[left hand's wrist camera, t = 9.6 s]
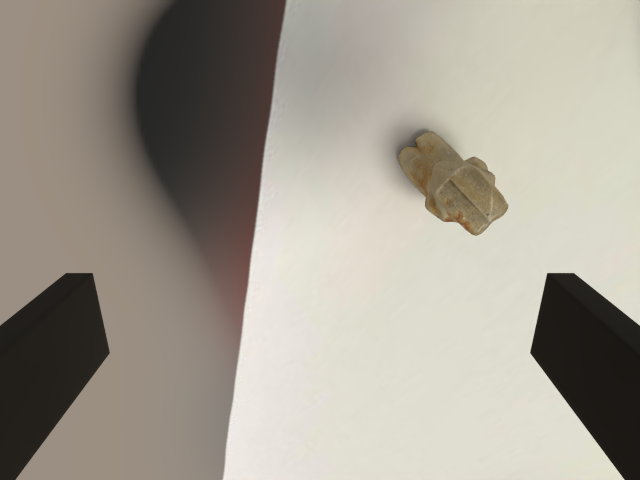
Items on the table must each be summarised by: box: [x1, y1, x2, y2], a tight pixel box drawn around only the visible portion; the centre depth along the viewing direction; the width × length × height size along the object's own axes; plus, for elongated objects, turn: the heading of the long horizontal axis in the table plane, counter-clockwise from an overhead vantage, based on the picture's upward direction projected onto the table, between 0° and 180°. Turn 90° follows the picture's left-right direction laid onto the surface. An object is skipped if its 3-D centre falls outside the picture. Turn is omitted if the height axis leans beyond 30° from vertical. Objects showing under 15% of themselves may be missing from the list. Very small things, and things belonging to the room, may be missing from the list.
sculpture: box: [398, 132, 508, 236], centre depth 37 cm, size 6×7×15 cm
